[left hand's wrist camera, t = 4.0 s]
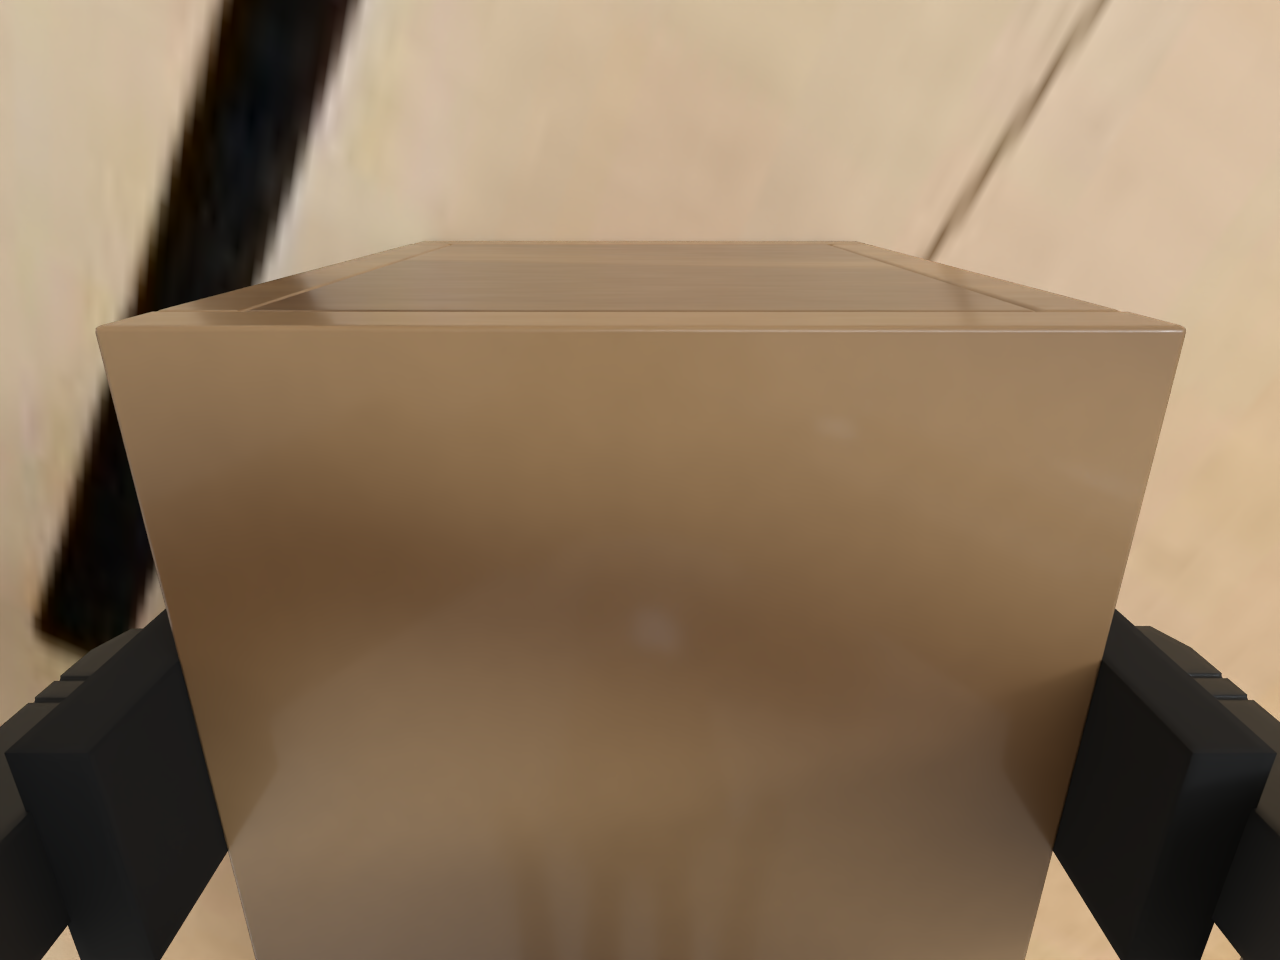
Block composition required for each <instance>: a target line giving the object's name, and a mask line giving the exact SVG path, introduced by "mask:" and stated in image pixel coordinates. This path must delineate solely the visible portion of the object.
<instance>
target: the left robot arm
mask: <svg viewBox="0 0 1280 960" xmlns="http://www.w3.org/2000/svg"><path fill="white" fill-rule="evenodd" d="M1221 674H1222V673H1221V672H1219V671H1218V670H1217V669H1216V668H1215V667H1214V666H1212V665H1211V664H1210V663H1209V662H1208V661H1206V660H1205V659H1204V658H1203V657H1202V656H1200V655H1199V654H1198V653H1197V652H1196V651H1194V650H1193V649H1192V648H1191V647H1189V646H1187V645H1185V644H1183V643H1181V642H1179V641H1177V640H1175V639H1174V638H1172V637H1170V636H1168V635H1166V634H1164V633H1162V632H1160V631H1158V630H1156V629H1155V628H1153V627H1151V626H1134V625H1133V624H1132V623H1131V622H1130V621H1128V620H1127V619H1126V618H1125V617H1124V616H1123V615H1122V614H1121V613H1119V612H1118V611H1117V610H1116V609H1115V610H1114V614H1113V618H1112V622H1111V626H1110V630H1109V634H1108V637H1107V641H1106V645H1105V649H1104V653H1103V657H1102V661H1101V665H1100V669H1099V672H1098V676H1097V680H1096V684H1095V688H1094V692H1093V696H1092V700H1091V704H1090V708H1089V711H1088V715H1087V719H1086V723H1085V727H1084V731H1083V735H1082V739H1081V743H1080V746H1079V750H1078V754H1077V758H1076V762H1075V766H1074V770H1073V774H1072V778H1071V782H1070V785H1069V789H1068V793H1067V797H1066V801H1065V805H1064V809H1063V813H1062V817H1061V820H1060V824H1059V828H1058V832H1057V836H1056V840H1055V844H1054V848H1053V852H1054V853H1055V855H1056V857H1057V858H1058V860H1059V861H1060V863H1061V865H1062V866H1063V868H1064V869H1065V871H1066V873H1067V874H1068V876H1069V878H1070V879H1071V881H1072V882H1073V884H1074V886H1075V887H1076V889H1077V890H1078V892H1079V894H1080V895H1081V897H1082V899H1083V900H1084V902H1085V903H1086V905H1087V907H1088V908H1089V910H1090V911H1091V913H1092V915H1093V916H1094V918H1095V920H1096V921H1097V923H1098V924H1099V926H1100V928H1101V929H1102V931H1103V932H1104V934H1105V936H1106V937H1107V939H1108V941H1109V942H1110V944H1111V945H1112V947H1113V949H1114V950H1115V952H1116V953H1117V955H1118V957H1119V958H1120V960H1201V957H1202V954H1203V952H1204V949H1205V946H1206V943H1207V941H1208V938H1209V935H1210V933H1211V930H1212V927H1213V925H1214V922H1215V924H1216V925H1217V926H1218V928H1219V929H1220V930H1221V931H1222V933H1223V934H1224V935H1225V937H1226V938H1227V939H1228V940H1229V942H1230V943H1231V944H1232V946H1233V947H1234V948H1235V949H1236V951H1237V952H1238V953H1239V955H1240V956H1241V958H1240V960H1280V722H1279V721H1278V720H1277V719H1275V718H1274V717H1273V716H1272V715H1271V714H1269V713H1268V712H1267V711H1266V710H1265V709H1264V708H1262V707H1261V706H1260V705H1259V704H1258V703H1256V702H1255V701H1254V700H1248V699H1247V694H1246V693H1244V692H1243V691H1242V690H1241V689H1240V688H1239V687H1237V686H1236V685H1235V684H1234V683H1233V682H1231V681H1230V680H1229V679H1228V678H1222V676H1221ZM60 677H61V678H60V681H54V682H53V683H52V684H50V685H49V686H48V687H47V688H46V689H44V690H43V691H42V692H41V693H40V694H39V695H37V696H36V697H35V702H34V703H28V704H27V705H26V706H24V707H23V708H22V709H21V710H20V711H18V712H17V713H16V714H15V715H14V716H13V717H11V718H10V719H9V720H8V721H7V722H5V723H4V724H3V725H2V726H1V727H0V960H41V959H42V958H43V956H44V955H45V954H46V953H47V951H48V950H49V949H50V947H51V946H52V945H53V944H54V942H55V941H56V940H57V938H58V937H59V936H60V934H61V933H62V932H63V931H64V929H65V928H66V927H67V925H68V927H69V930H70V932H71V935H72V938H73V940H74V943H75V946H76V949H77V951H78V954H79V957H80V959H81V960H161V958H162V956H163V955H164V953H165V952H166V950H167V948H168V947H169V945H170V943H171V942H172V940H173V939H174V937H175V935H176V934H177V932H178V931H179V929H180V927H181V926H182V924H183V922H184V921H185V919H186V918H187V916H188V914H189V913H190V911H191V910H192V908H193V906H194V905H195V903H196V901H197V900H198V898H199V897H200V895H201V893H202V892H203V890H204V889H205V887H206V885H207V884H208V882H209V880H210V879H211V877H212V876H213V874H214V872H215V871H216V869H217V868H218V866H219V864H220V863H221V861H222V859H223V858H224V856H225V855H226V853H227V851H228V849H227V845H226V841H225V837H224V833H223V829H222V825H221V821H220V817H219V813H218V810H217V806H216V802H215V798H214V794H213V790H212V786H211V782H210V778H209V774H208V770H207V766H206V763H205V759H204V755H203V751H202V747H201V743H200V739H199V735H198V731H197V727H196V723H195V720H194V716H193V712H192V708H191V704H190V700H189V696H188V692H187V688H186V684H185V680H184V676H183V673H182V669H181V665H180V661H179V657H178V653H177V649H176V645H175V641H174V637H173V633H172V630H171V626H170V622H169V618H168V614H167V610H166V609H165V610H164V611H163V612H161V613H160V614H159V615H158V616H157V617H156V618H155V619H154V620H152V621H151V622H150V623H149V624H148V625H147V626H146V627H145V628H143V629H130V630H128V631H126V632H124V633H123V634H121V635H119V636H117V637H115V638H113V639H111V640H109V641H107V642H106V643H104V644H102V645H100V646H98V647H96V648H94V649H92V650H91V651H89V652H88V653H87V654H86V655H85V656H83V657H82V658H81V659H80V660H79V661H78V662H76V663H75V664H74V665H73V666H72V667H70V668H69V669H68V670H67V671H66V672H65V673H63V674H62V675H61V676H60Z"/></svg>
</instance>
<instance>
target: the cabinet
mask: <svg viewBox="0 0 1280 960" xmlns="http://www.w3.org/2000/svg"><path fill="white" fill-rule="evenodd" d="M1185 334H1186V330H1185V328H1184V327H1182V326H1180V325H1177V324H1173V323H1169V322H1165V321H1161V320H1157V319H1154V318H1150V317H1146V316H1142V315H1138V314H1134V313H1131V312H1120V311H1118V310H1115V309H1111V308H1108V307H1104V306H1100V305H1096V304H1092V303H1089V302H1085V301H1081V300H1077V299H1073V298H1070V297H1066V296H1062V295H1058V294H1054V293H1051V292H1047V291H1043V290H1039V289H1035V288H1032V287H1028V286H1024V285H1020V284H1016V283H1013V282H1009V281H1005V280H1001V279H997V278H993V277H990V276H986V275H982V274H978V273H974V272H971V271H967V270H963V269H959V268H955V267H952V266H948V265H944V264H940V263H936V262H933V261H929V260H925V259H921V258H917V257H914V256H910V255H906V254H902V253H898V252H895V251H891V250H887V249H883V248H879V247H876V246H872V245H868V244H864V243H860V242H856V241H423V242H419V243H415V244H410V245H406V246H402V247H399V248H395V249H391V250H387V251H383V252H380V253H376V254H372V255H368V256H364V257H361V258H357V259H353V260H349V261H345V262H341V263H338V264H334V265H330V266H326V267H322V268H319V269H315V270H311V271H307V272H303V273H299V274H296V275H292V276H288V277H284V278H280V279H277V280H273V281H269V282H265V283H261V284H258V285H254V286H250V287H246V288H242V289H238V290H235V291H231V292H227V293H223V294H219V295H216V296H212V297H208V298H204V299H200V300H197V301H193V302H189V303H185V304H181V305H177V306H174V307H170V308H166V309H162V310H159V311H157V312H150V313H146V314H142V315H139V316H135V317H131V318H127V319H123V320H119V321H116V322H112V323H108V324H104V325H101V326H99V327H97V328H96V336H97V340H98V344H99V348H100V352H101V356H102V359H103V363H104V367H105V371H106V375H107V379H108V383H109V387H110V391H111V395H112V399H113V403H114V406H115V410H116V414H117V418H118V422H119V426H120V430H121V434H122V438H123V442H124V446H125V450H126V453H127V457H128V461H129V465H130V469H131V473H132V477H133V481H134V485H135V489H136V493H137V496H138V500H139V504H140V508H141V512H142V516H143V520H144V524H145V528H146V532H147V536H148V540H149V543H150V547H151V551H152V555H153V559H154V563H155V567H156V571H157V575H158V579H159V583H160V586H161V590H162V594H163V598H164V602H165V606H166V610H167V614H168V618H169V622H170V626H171V630H172V633H173V637H174V641H175V645H176V649H177V653H178V657H179V661H180V665H181V669H182V673H183V676H184V680H185V684H186V688H187V692H188V696H189V700H190V704H191V708H192V712H193V716H194V720H195V723H196V727H197V731H198V735H199V739H200V743H201V747H202V751H203V755H204V759H205V763H206V766H207V770H208V774H209V778H210V782H211V786H212V790H213V794H214V798H215V802H216V806H217V810H218V813H219V817H220V821H221V825H222V829H223V833H224V837H225V841H226V845H227V849H228V853H229V857H230V860H231V864H232V868H233V872H234V876H235V880H236V884H237V888H238V892H239V896H240V900H241V903H242V907H243V911H244V915H245V919H246V923H247V927H248V931H249V935H250V939H251V943H252V947H253V950H254V954H255V958H256V960H1025V957H1026V953H1027V949H1028V945H1029V941H1030V937H1031V933H1032V930H1033V926H1034V922H1035V918H1036V914H1037V910H1038V906H1039V902H1040V898H1041V894H1042V891H1043V887H1044V883H1045V879H1046V875H1047V871H1048V867H1049V863H1050V859H1051V856H1052V852H1053V848H1054V844H1055V840H1056V836H1057V832H1058V828H1059V824H1060V820H1061V817H1062V813H1063V809H1064V805H1065V801H1066V797H1067V793H1068V789H1069V785H1070V782H1071V778H1072V774H1073V770H1074V766H1075V762H1076V758H1077V754H1078V750H1079V746H1080V743H1081V739H1082V735H1083V731H1084V727H1085V723H1086V719H1087V715H1088V711H1089V708H1090V704H1091V700H1092V696H1093V692H1094V688H1095V684H1096V680H1097V676H1098V672H1099V669H1100V665H1101V661H1102V657H1103V653H1104V649H1105V645H1106V641H1107V637H1108V634H1109V630H1110V626H1111V622H1112V618H1113V614H1114V610H1115V606H1116V602H1117V598H1118V595H1119V591H1120V587H1121V583H1122V579H1123V575H1124V571H1125V567H1126V563H1127V560H1128V556H1129V552H1130V548H1131V544H1132V540H1133V536H1134V532H1135V528H1136V524H1137V521H1138V517H1139V513H1140V509H1141V505H1142V501H1143V497H1144V493H1145V489H1146V486H1147V482H1148V478H1149V474H1150V470H1151V466H1152V462H1153V458H1154V454H1155V450H1156V447H1157V443H1158V439H1159V435H1160V431H1161V427H1162V423H1163V419H1164V415H1165V412H1166V408H1167V404H1168V400H1169V396H1170V392H1171V388H1172V384H1173V380H1174V376H1175V373H1176V369H1177V365H1178V361H1179V357H1180V353H1181V349H1182V345H1183V341H1184V338H1185Z"/></svg>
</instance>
